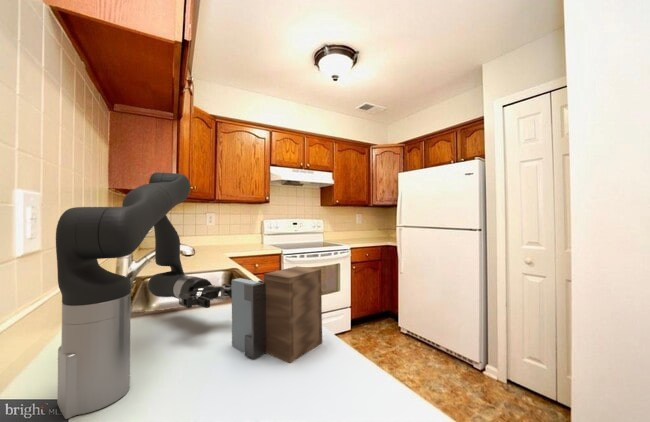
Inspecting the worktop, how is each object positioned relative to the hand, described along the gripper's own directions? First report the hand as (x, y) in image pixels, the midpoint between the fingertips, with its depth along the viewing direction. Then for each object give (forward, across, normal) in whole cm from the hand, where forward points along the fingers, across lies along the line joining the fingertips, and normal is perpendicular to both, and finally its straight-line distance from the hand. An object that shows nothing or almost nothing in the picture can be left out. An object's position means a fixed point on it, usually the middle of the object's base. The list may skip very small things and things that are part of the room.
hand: (224, 299), depth 69 cm
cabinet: (+18, +7, +10) cm, 22 cm away
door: (+9, 0, +10) cm, 14 cm away
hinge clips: (+13, 0, +10) cm, 16 cm away
